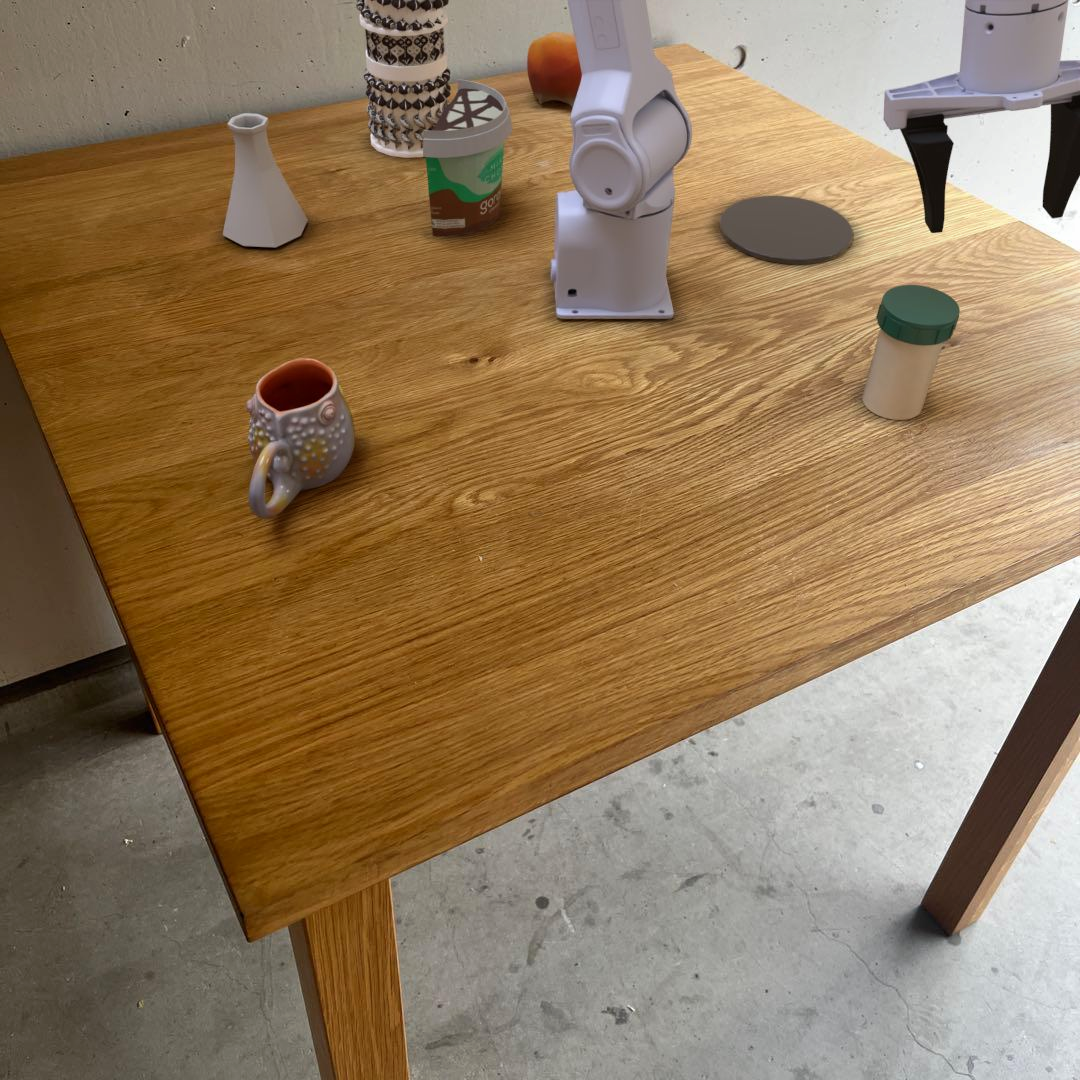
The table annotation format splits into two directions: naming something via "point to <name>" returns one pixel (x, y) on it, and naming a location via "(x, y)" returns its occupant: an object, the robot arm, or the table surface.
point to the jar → (899, 377)
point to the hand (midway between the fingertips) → (992, 219)
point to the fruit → (554, 68)
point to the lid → (918, 315)
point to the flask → (259, 190)
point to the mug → (297, 433)
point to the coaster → (786, 230)
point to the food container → (467, 160)
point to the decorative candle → (404, 72)
